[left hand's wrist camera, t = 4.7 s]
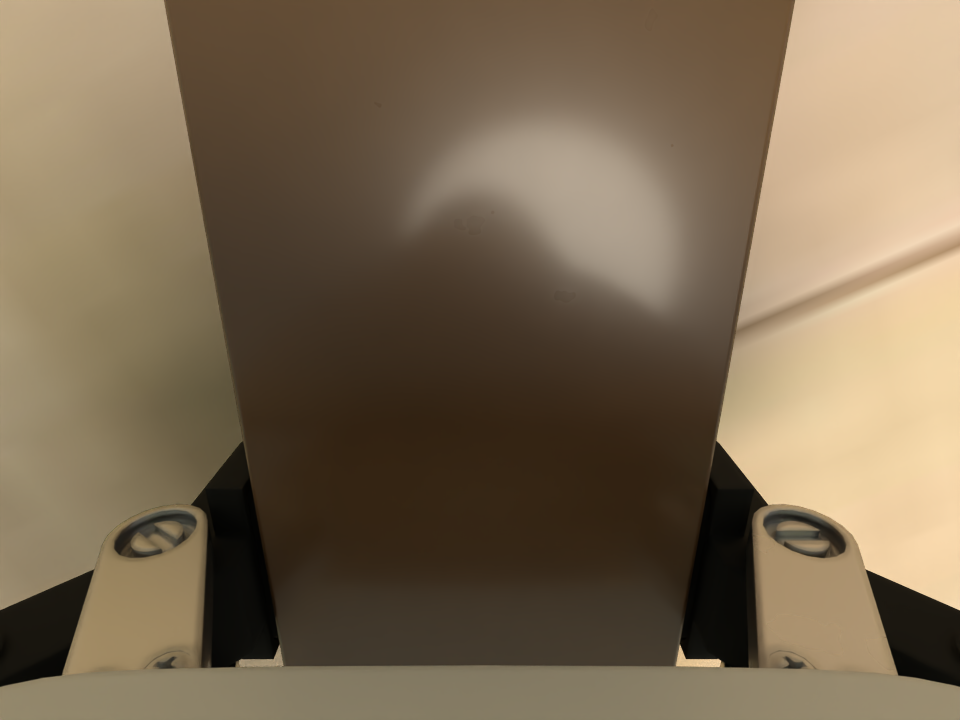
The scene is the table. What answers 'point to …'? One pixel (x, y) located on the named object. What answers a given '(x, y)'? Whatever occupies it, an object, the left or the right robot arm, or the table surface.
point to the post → (479, 307)
